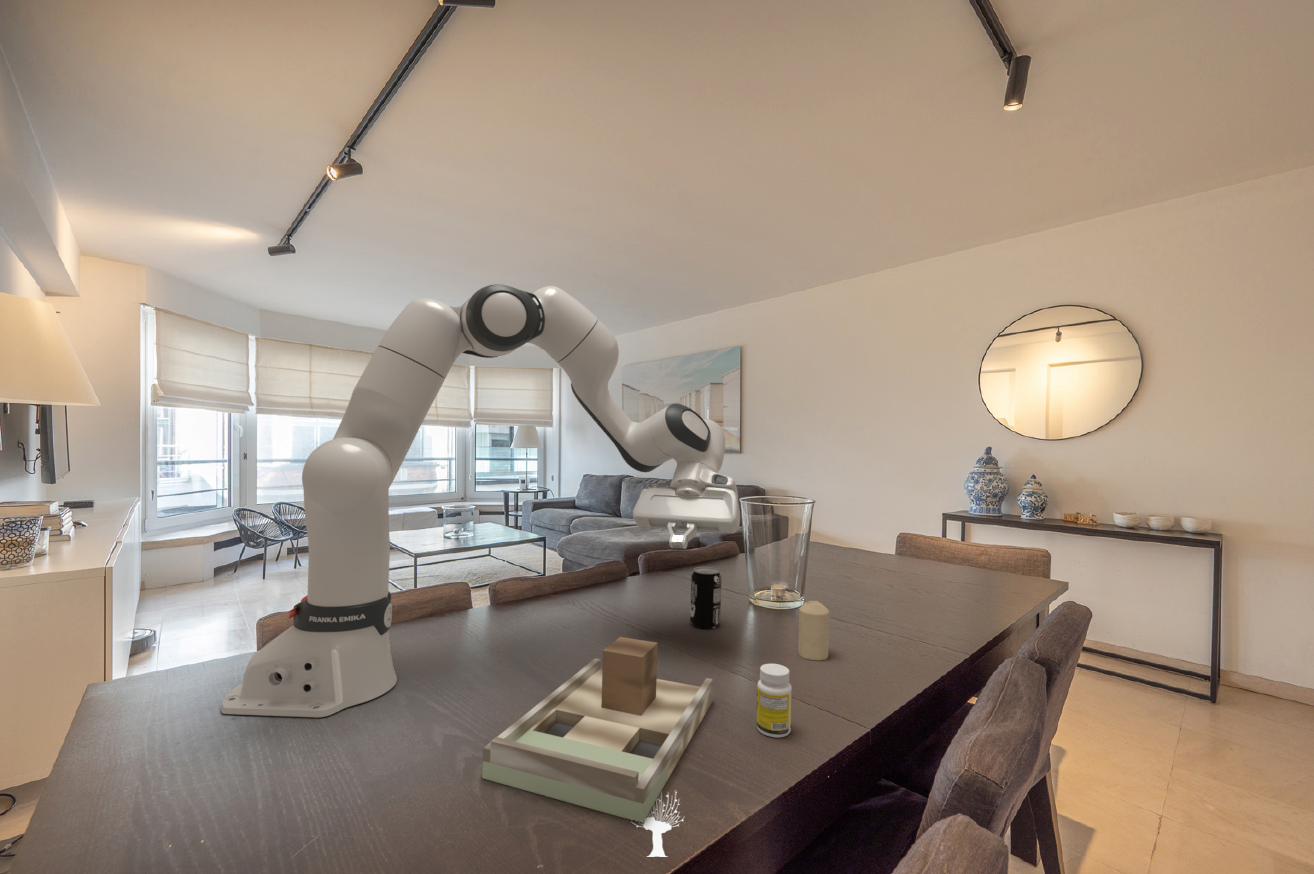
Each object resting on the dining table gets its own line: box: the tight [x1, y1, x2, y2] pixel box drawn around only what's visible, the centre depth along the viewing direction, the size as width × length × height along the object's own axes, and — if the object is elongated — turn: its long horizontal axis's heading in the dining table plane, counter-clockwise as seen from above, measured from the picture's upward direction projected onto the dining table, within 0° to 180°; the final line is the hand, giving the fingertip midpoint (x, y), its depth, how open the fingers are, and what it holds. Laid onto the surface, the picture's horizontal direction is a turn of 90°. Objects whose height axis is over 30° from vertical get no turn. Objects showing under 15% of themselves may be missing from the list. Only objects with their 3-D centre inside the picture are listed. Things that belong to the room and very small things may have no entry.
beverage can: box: [689, 566, 723, 630], centre depth 120 cm, size 7×7×12 cm
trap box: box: [482, 658, 714, 804], centre depth 74 cm, size 29×20×4 cm
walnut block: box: [601, 636, 658, 716], centre depth 79 cm, size 6×6×8 cm
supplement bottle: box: [756, 663, 793, 739], centre depth 77 cm, size 5×5×8 cm
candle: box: [797, 600, 830, 662], centre depth 105 cm, size 6×6×10 cm
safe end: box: [481, 730, 669, 823], centre depth 64 cm, size 8×20×2 cm, turn 70°
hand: (677, 546), depth 99 cm, fingers closed
